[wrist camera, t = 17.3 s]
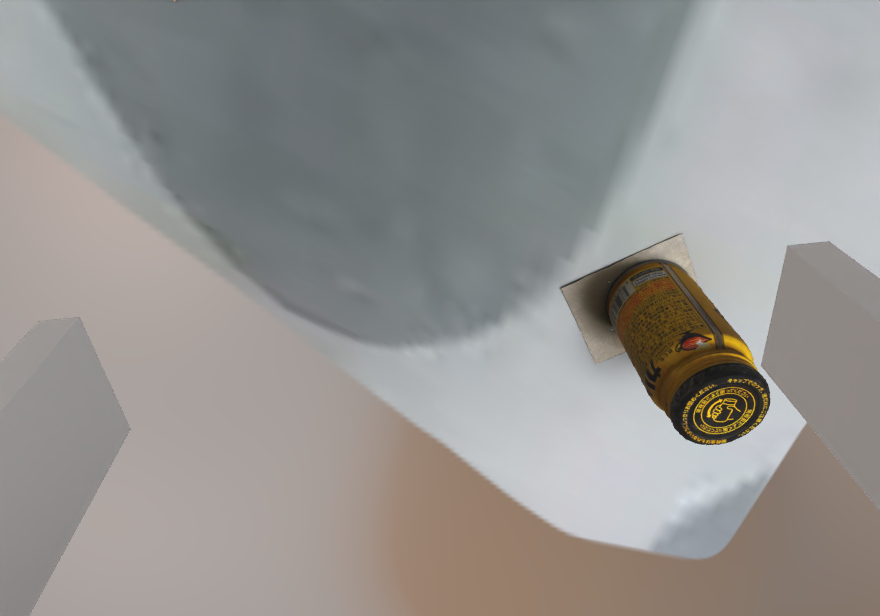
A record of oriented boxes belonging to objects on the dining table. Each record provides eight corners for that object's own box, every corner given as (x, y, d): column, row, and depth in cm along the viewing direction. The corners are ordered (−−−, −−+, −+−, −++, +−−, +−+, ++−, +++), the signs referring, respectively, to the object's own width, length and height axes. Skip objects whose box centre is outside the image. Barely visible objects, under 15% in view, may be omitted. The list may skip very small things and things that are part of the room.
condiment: (707, 315, 45) (799, 431, 34) (595, 362, 46) (650, 486, 36) (680, 232, 41) (773, 333, 31) (559, 286, 43) (609, 399, 32)
